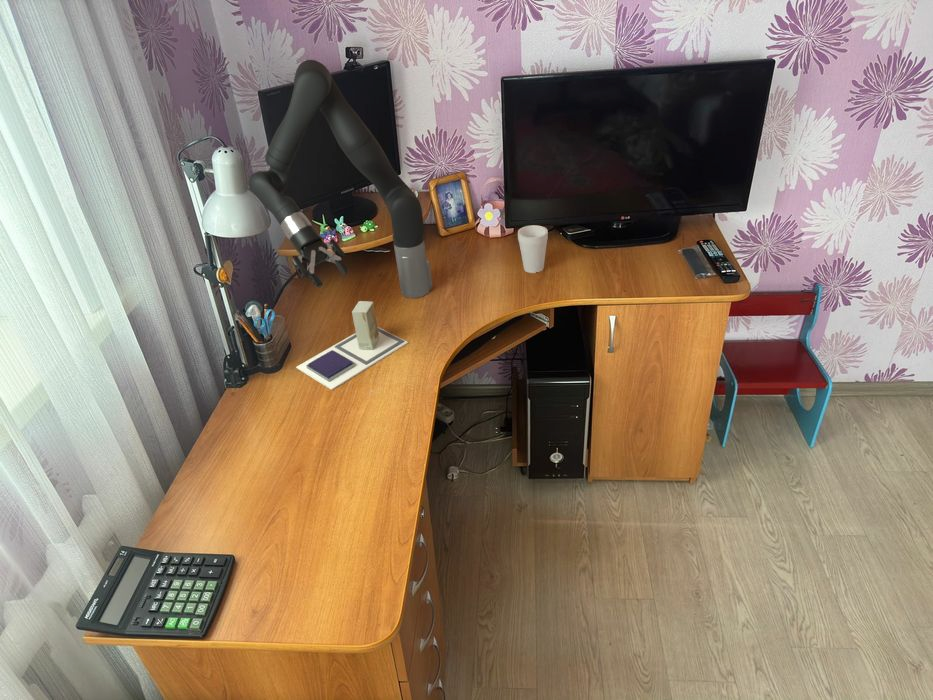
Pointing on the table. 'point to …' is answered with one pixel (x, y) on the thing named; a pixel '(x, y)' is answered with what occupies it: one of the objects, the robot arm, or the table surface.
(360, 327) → the skincare box
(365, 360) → the marked board
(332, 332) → the table surface
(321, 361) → the ink pad
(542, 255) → the foam cup
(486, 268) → the table surface
